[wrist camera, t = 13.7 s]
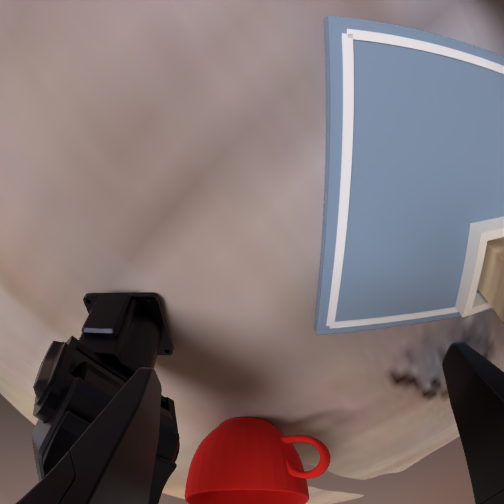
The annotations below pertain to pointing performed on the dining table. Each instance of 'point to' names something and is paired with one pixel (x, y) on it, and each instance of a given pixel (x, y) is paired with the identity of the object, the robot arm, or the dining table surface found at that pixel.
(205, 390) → the dining table surface
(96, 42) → the dining table surface
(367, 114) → the board
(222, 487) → the ceramic cup
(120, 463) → the robot arm
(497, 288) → the maple pillar
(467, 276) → the collar
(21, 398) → the dining table surface
